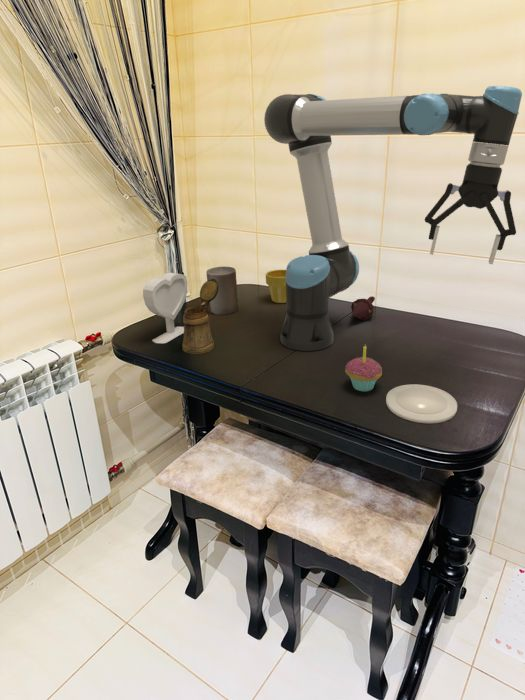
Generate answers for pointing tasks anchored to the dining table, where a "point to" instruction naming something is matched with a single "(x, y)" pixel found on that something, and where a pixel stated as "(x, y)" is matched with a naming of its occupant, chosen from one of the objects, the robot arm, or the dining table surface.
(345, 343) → the dining table surface
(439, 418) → the saucer
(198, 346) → the wooden mug
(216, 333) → the dining table surface
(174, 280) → the heart sculpture
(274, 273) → the plant pot
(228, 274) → the pillar candle
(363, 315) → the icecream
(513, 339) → the dining table surface
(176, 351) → the dining table surface
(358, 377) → the cupcake
